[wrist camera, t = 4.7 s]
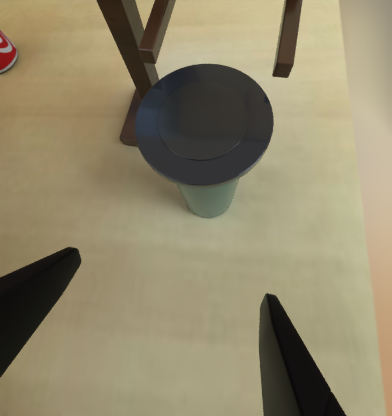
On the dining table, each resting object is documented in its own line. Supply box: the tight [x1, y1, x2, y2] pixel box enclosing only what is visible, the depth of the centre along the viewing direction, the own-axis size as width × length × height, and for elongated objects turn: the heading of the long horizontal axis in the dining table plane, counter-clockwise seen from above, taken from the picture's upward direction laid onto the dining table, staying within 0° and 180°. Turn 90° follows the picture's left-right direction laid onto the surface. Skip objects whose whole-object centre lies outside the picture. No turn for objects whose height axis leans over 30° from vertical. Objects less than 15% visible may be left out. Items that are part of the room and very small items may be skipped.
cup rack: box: [97, 0, 302, 146], centre depth 18 cm, size 10×16×16 cm, turn 78°
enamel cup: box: [135, 64, 274, 218], centre depth 17 cm, size 7×7×13 cm
